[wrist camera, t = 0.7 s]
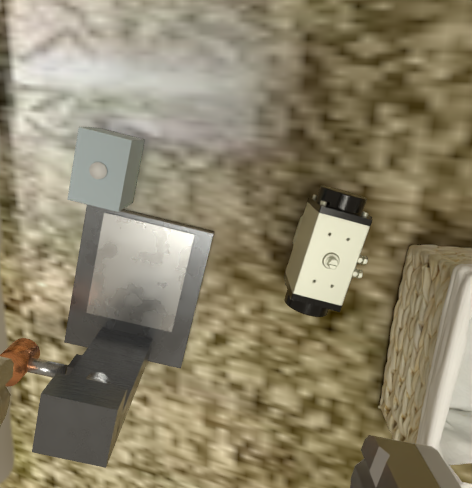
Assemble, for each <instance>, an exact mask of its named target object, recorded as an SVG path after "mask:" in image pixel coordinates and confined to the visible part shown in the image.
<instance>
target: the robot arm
mask: <svg viewBox="0 0 472 488" xmlns="http://www.w3.org/2000/svg"><path fill="white" fill-rule="evenodd" d="M13 368H14V363H13V361H12V359H9V358H5V357H1V356H0V426H1V424H2V422H3V420H4V418H5V416H6V414H7V410H8V407H9V402H10V393H9V391H8V389H7V388H6V386H5V385H6V384H7V383H8V382H9V380H10V379H11V378H12V377H13ZM361 451H362V453H363V456H364V458H365V459H364V460H362V461H361V462H360V463H358V464H357V465H356V466H355V468H354V471H353V474H352V477H351V486H350V488H461V486H460V485H459V483H458V482H457V480H456V478H455V477H454V475H453V474H452V472H451V471H450V469H449V468H448V466H447V464H446V463H445V461H444V460H443V458H442V457H441V455H440V454H439V452H438V450H436V449H435V448H433V447H432V446H427V445H421V444H415V443H407V442H402V441H397V440H392V439H387V438H382V437H376V436H371V435H369V436H368V437H367V438H366V439H365V441H364V443H363V446H362V449H361Z"/></svg>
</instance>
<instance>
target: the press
mask: <svg viewBox="0 0 472 488" xmlns="http://www.w3.org/2000/svg"><path fill="white" fill-rule="evenodd" d="M213 234H214V232H213V231H209V230H205V229H201V228H197V227H193V226H189V225H185V224H181V223H177V222H173V221H169V220H164V219H160V218H156V217H152V216H148V215H144V214H140V213H136V212H132V211H128V210H124V209H122V210H121V211H119V212H116V211H112V210H108V209H104V208H100V207H96V206H92V205H88V204H87V208H86V214H85V220H84V226H83V233H82V239H81V245H80V251H79V257H78V263H77V269H76V275H75V281H74V287H73V293H72V299H71V305H70V311H69V317H68V323H67V329H66V335H65V341H64V342H66V343H70V344H75V345H79V346H84V347H88V348H87V350H86V351H85V352H84V354H83V355H78V354H76V356H75V357H74V358H73V360H72V361H71V363H70V364H69V365H68V367H67V372H66V374H61V373H56V375H55V376H54V377H53V379H52V380H51V381H50V382H49V384H48V385H47V386H46V388H45V389H44V390H43V392H42V393H41V398H40V404H39V410H38V417H37V423H36V430H35V436H34V443H33V449H32V452H34V453H39V454H43V455H48V456H53V457H58V458H63V459H67V460H72V461H77V462H82V463H87V464H91V465H96V466H101V467H106V466H107V463H108V461H109V458H110V456H111V453H112V451H113V448H114V446H115V443H116V440H117V438H118V435H119V433H120V430H121V428H122V425H123V423H124V420H125V418H126V415H127V412H128V410H129V407H130V405H131V402H132V400H133V397H134V395H135V392H136V390H137V387H138V385H139V382H140V379H141V377H142V374H143V372H144V369H145V367H146V364H147V362H148V361H150V362H155V363H159V364H164V365H168V366H173V367H177V368H181V365H182V361H183V356H184V352H185V348H186V344H187V340H188V336H189V332H190V328H191V324H192V320H193V316H194V311H195V307H196V303H197V299H198V295H199V291H200V287H201V283H202V279H203V275H204V271H205V266H206V262H207V258H208V254H209V250H210V246H211V242H212V238H213Z"/></svg>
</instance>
